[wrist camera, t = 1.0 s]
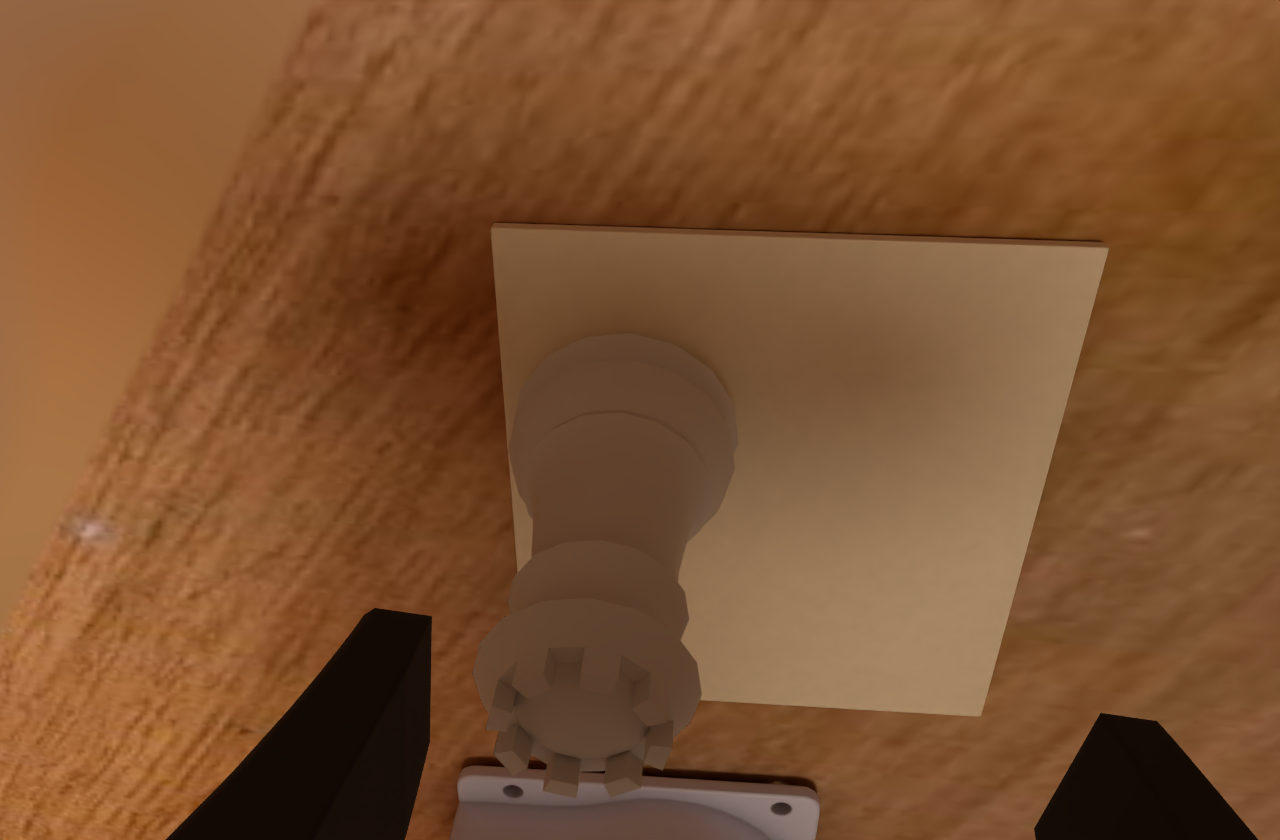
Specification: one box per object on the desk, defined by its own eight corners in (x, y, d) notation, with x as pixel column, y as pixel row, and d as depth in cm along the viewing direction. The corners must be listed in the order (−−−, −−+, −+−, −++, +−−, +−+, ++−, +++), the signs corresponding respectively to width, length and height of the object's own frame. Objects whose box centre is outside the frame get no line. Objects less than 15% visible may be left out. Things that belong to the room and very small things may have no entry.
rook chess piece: (484, 456, 21) (371, 775, 14) (570, 283, 19) (482, 564, 12) (675, 538, 22) (654, 876, 15) (779, 380, 19) (809, 696, 13)
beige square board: (528, 681, 25) (526, 690, 25) (493, 221, 18) (489, 228, 18) (978, 707, 24) (981, 717, 24) (1104, 241, 18) (1109, 247, 18)
